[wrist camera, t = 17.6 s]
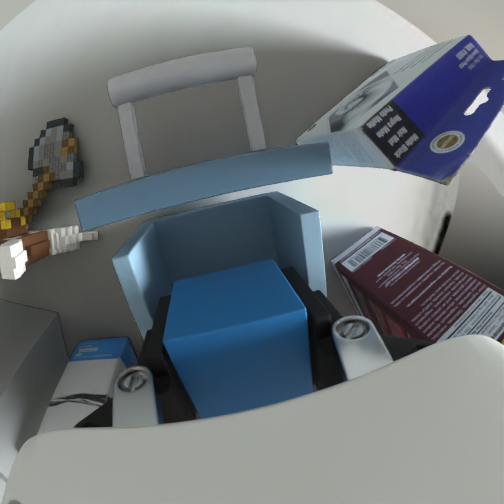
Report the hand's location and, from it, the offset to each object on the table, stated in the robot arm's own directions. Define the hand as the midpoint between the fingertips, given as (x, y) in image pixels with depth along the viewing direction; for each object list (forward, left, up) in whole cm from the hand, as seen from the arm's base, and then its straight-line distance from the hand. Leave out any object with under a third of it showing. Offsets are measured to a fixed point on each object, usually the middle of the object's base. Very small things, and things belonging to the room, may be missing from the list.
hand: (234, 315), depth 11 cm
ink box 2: (+11, +9, -7) cm, 16 cm away
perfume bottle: (-18, -3, -7) cm, 20 cm away
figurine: (-13, +8, -7) cm, 17 cm away
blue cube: (0, 0, 0) cm, 0 cm away
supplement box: (+11, -5, -7) cm, 14 cm away
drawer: (0, +3, -6) cm, 7 cm away
